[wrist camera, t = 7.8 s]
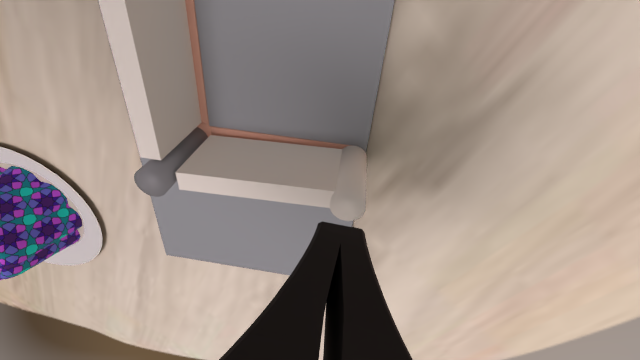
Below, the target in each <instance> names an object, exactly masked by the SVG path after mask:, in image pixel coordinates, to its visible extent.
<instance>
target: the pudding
mask: <svg viewBox="0 0 640 360" xmlns="http://www.w3.org/2000/svg"><path fill="white" fill-rule="evenodd" d="M0 163H8V164H13V165H16V166H20V167H23V168H25V169H28V170H30V171H32V172H34V173H36V174H38V175H40V176H42V177H43V178H45V179H46V180H48V181H49V182H51V183H52V184H54V185H55V186H56V187H57V188H59V189H60V190H61V191H62V192H63V193H64V194H65V195H66V196H67V197H68V198H69V199H70V200H71V201H72V203H73V204H74V205H75V206H76V208H77V210H78V211H79V213H80V215H81V217H82V219H83V223H84V234H83V237H82V239H81V240H80V241H79V238H80V234H79V232H78V230H77V229H78V228H79V227H81V226H82V220H81V218H80V216H79V214H78V213H77V212H76V211H75V210H73V209H72V208H71V207H69V206H68V201H67V198H66V197H65V196H64V195H63V193H62V192H61V191H60V190H58V189H57V188H56V187H54V186H53V185H51V184H48V183H44V182H40V181H39V180H38V179H37V178H36V177H35V176H34V175H33V174H32V173H31V172H29V171H27V170H25V169H23V168H20V167H15V166H11V167H9V168H8V169H4V168H1V167H0V280H2V279H9V278H12V277H15V276H17V275H19V274H22V273H23V272H25V271H27V270H29V269H30V268H32V267H34V266H36V265H37V264H39V263H41V262H42V261H44V262H47V263H52V264H57V265H70V266H72V265H81V264H84V263H87V262H89V261H91V260H93V259H94V258H95V257H96V256H97V255H98V254H99V252H100V250H101V247H102V239H103V238H102V232H101V228H100V226H99V223H98V221H97V218H96V217H95V215H94V213H93V212H92V210H91V209H90V207H89V206H88V205H87V203H86V202H85V201H84V200H83V198H82V197H81V196H80V195H79V194H78V193H77V192H76V191H75V190H74V189H73V188H72V187H71V186H70V185H69V184H68V183H66V182H65V181H64V180H63V179H61V178H60V177H59V176H58V175H57V174H55V173H54V172H52V171H51V170H49V169H48V168H46V167H45V166H43V165H42V164H40V163H38V162H36V161H34V160H32V159H30V158H29V157H27V156H24V155H22V154H20V153H17V152H15V151H12V150H10V149H6V148H3V147H0ZM77 241H79V242H77ZM75 242H77V243H76V244H74V243H75ZM72 244H74V245H72ZM70 245H71V246H70Z"/></svg>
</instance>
